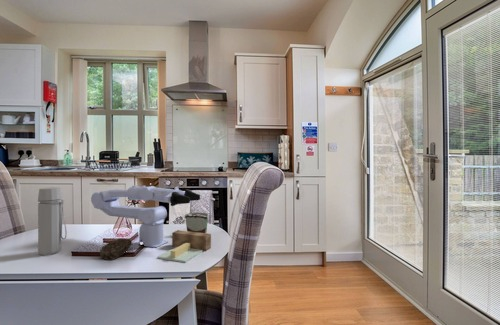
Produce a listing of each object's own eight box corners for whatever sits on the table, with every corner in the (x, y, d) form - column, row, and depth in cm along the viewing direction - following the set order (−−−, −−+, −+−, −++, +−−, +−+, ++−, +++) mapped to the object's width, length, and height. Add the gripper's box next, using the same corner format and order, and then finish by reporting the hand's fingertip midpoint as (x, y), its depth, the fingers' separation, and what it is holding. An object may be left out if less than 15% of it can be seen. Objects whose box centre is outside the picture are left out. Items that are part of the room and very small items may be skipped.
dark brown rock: (116, 248, 108) (117, 236, 108) (136, 251, 104) (136, 238, 104) (91, 258, 97) (91, 244, 97) (112, 261, 94) (112, 247, 94)
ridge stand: (157, 258, 97) (157, 250, 97) (176, 248, 108) (176, 240, 108) (185, 262, 93) (185, 254, 93) (202, 251, 104) (202, 243, 104)
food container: (213, 233, 130) (213, 213, 130) (207, 236, 124) (208, 215, 124) (190, 231, 133) (190, 211, 133) (184, 234, 127) (184, 214, 127)
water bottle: (33, 257, 97) (33, 189, 97) (43, 250, 105) (43, 187, 105) (62, 254, 100) (62, 188, 100) (70, 248, 107) (70, 186, 107)
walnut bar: (172, 246, 110) (172, 232, 110) (177, 244, 114) (177, 230, 114) (206, 251, 105) (206, 236, 105) (210, 248, 108) (210, 233, 108)
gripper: (155, 187, 104) (185, 191, 99) (177, 184, 118) (204, 187, 113) (154, 205, 104) (184, 209, 100) (176, 200, 118) (203, 203, 113)
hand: (194, 198), depth 106 cm, fingers open, 7 cm apart
